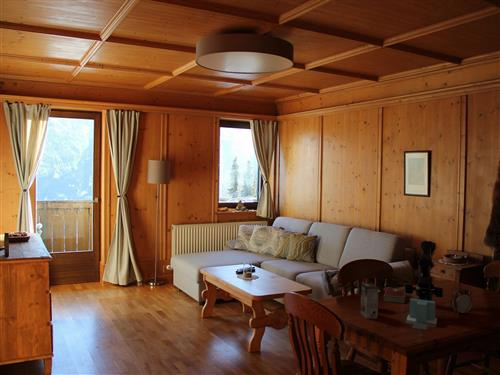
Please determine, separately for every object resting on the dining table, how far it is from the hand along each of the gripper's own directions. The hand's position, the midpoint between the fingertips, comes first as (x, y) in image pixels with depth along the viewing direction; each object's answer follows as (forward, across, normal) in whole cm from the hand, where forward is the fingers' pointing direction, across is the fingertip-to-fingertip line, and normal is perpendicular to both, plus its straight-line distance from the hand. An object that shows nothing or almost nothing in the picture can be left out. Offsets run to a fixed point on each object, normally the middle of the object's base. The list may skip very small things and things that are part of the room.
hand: (422, 304), depth 240 cm
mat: (+11, 0, -2) cm, 11 cm away
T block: (+8, 0, +1) cm, 8 cm away
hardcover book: (-19, -17, +29) cm, 39 cm away
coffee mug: (0, -27, +9) cm, 28 cm away
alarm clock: (-8, +18, +17) cm, 26 cm away
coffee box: (+12, -26, -2) cm, 28 cm away
